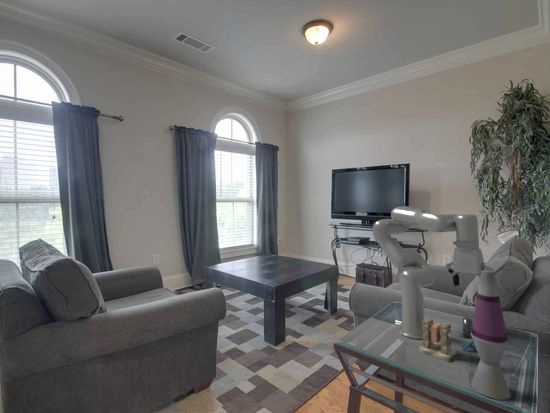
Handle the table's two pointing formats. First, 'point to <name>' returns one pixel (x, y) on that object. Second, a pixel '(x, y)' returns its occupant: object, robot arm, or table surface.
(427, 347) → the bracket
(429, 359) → the table surface
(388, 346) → the table surface
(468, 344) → the gear
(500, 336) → the lamp
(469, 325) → the shaft
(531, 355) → the table surface
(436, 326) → the spacer
